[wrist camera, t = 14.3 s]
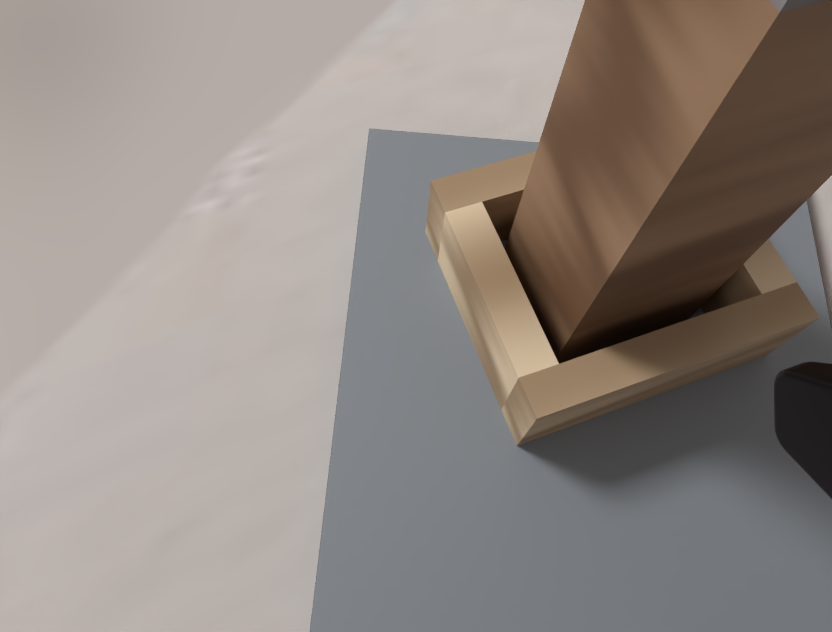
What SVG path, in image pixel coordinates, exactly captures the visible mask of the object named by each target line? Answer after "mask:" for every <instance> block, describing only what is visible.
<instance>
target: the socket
mask: <svg viewBox="0 0 832 632" xmlns="http://www.w3.org/2000/svg"><path fill="white" fill-rule="evenodd" d="M535 154H536V151H534V152H531V153H527V154H524V155H520V156H516V157H513V158H509V159H506V160H502V161H499V162H495V163H492V164H488V165H485V166H481V167H477V168H474V169H470V170H467V171H463V172H460V173H456V174H453V175H449V176H445V177H442V178H438V179H435V180H431V183H430V193H429V202H428V211H427V220H426V230H425V232H426V235H427V237H428V239H429V242H430V244H431V246H432V249H433V251H434V253H435V256H436V258H437V260H438V263H439V265H440V267H441V270H442V272H443V274H444V277H445V279H446V281H447V284H448V286H449V289H450V291H451V293H452V296H453V298H454V300H455V303H456V305H457V307H458V310H459V312H460V314H461V317H462V319H463V321H464V324H465V326H466V328H467V331H468V333H469V335H470V338H471V340H472V342H473V345H474V347H475V349H476V352H477V354H478V356H479V359H480V361H481V363H482V366H483V368H484V370H485V373H486V375H487V377H488V380H489V382H490V384H491V387H492V389H493V392H494V394H495V396H496V399H497V401H498V403H499V406H500V408H501V410H502V413H503V415H504V417H505V420H506V422H507V424H508V427H509V429H510V431H511V434H512V436H513V438H514V441H515V443H516V445H517V446H518V445H521V444H524V443H526V442H529V441H532V440H535V439H537V438H540V437H543V436H546V435H549V434H551V433H554V432H557V431H560V430H562V429H565V428H568V427H571V426H573V425H576V424H579V423H582V422H584V421H587V420H590V419H593V418H595V417H598V416H601V415H604V414H606V413H609V412H612V411H615V410H617V409H620V408H623V407H626V406H628V405H631V404H634V403H637V402H639V401H642V400H645V399H648V398H650V397H653V396H656V395H659V394H661V393H664V392H667V391H670V390H672V389H675V388H678V387H681V386H683V385H686V384H689V383H692V382H694V381H697V380H700V379H703V378H706V377H708V376H711V375H714V374H717V373H719V372H722V371H725V370H728V369H730V368H733V367H736V366H739V365H741V364H744V363H747V362H750V361H752V360H755V359H758V358H761V357H763V356H766V355H768V354H769V353H771V352H772V351H774V350H775V349H776V348H778V347H779V346H781V345H782V344H783V343H785V342H786V341H788V340H789V339H790V338H792V337H793V336H795V335H796V334H798V333H799V332H800V331H802V330H803V329H805V328H806V327H807V326H809V325H810V324H812V323H813V322H814V321H816V320H817V319H819V318H820V317H819V315H818V314H817V312H816V311H815V309H814V308H813V306H812V305H811V303H810V302H809V300H808V298H807V297H806V295H805V294H804V292H803V291H802V289H801V288H800V286H799V285H798V283H797V281H796V280H795V278H794V277H793V275H792V274H791V272H790V271H789V269H788V268H787V266H786V264H785V263H784V261H783V260H782V258H781V257H780V255H779V254H778V252H777V251H776V249H775V248H774V246H773V244H772V243H771V241H770V240H769V239H768V240H767V241H766V242H765V243H764V244H763V245H762V246H761V247H760V248H759V249H758V250H757V251H756V252H755V253H754V254H753V255H752V256H751V257H750V258H749V259H748V260H747V261H746V262H745V263H744V264H743V265H742V266H741V267H740V268H739V269H738V270H737V271H736V272H735V273H734V274H733V275H732V276H731V277H730V278H729V279H728V280H727V281H726V282H725V283H724V284H723V285H722V286H721V287H720V288H719V289H718V290H717V291H716V292H715V293H714V294H713V295H712V296H711V297H710V298H709V299H708V300H707V301H706V302H705V303H704V304H703V305H702V306H701V308H702V310H703V312H704V313H705V314H703V315H700V316H697V317H694V318H691V319H688V320H685V321H682V322H679V323H676V324H674V325H671V326H668V327H665V328H662V329H659V330H656V331H653V332H650V333H647V334H644V335H642V336H639V337H636V338H633V339H630V340H627V341H624V342H621V343H618V344H615V345H612V346H610V347H607V348H604V349H601V350H598V351H595V352H592V353H589V354H586V355H583V356H580V357H578V358H575V359H572V360H569V361H566V362H563V363H560V364H559V363H558V361H557V359H556V357H555V355H554V353H553V350H552V348H551V346H550V344H549V342H548V340H547V338H546V336H545V334H544V331H543V329H542V327H541V325H540V323H539V321H538V319H537V317H536V315H535V312H534V310H533V308H532V306H531V304H530V302H529V300H528V298H527V295H526V293H525V291H524V289H523V287H522V285H521V283H520V281H519V279H518V276H517V274H516V272H515V270H514V268H513V266H512V264H511V262H510V260H509V257H508V255H507V253H506V251H505V249H504V247H503V245H502V243H501V241H505V240H508V238H509V235H510V232H511V229H512V225H513V222H514V219H515V216H516V213H517V210H518V207H519V204H520V201H521V198H522V194H523V191H524V188H525V185H526V182H527V179H528V176H529V173H530V170H531V167H532V164H533V160H534V157H535Z"/></svg>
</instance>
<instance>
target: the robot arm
mask: <svg viewBox="0 0 832 632" xmlns="http://www.w3.org/2000/svg"><path fill="white" fill-rule="evenodd" d="M774 427H775V433H776V436H777V439H778V441H779V443H780V444H781V446H782V447H783V449H784V450H785V451H786V452H787V453H788V454H789V455H790V456H791V457H792V458H793V459H794V460H795V461H796V463H797V464H798V465H799V466H800V467H801V468H802V469H803V470H804V471H805V472H806V473H807V474H808V475H809V476H810V477H811V478H812V479H813V480H814V481H815V482H816V484H817V485H818V486H819V487H820V488H821V489H822V490H823V491H824V492H825V493H826V494H827V495H828V496H829V497H830V498H831V499H832V364H830V363H822V362H813V361H809V362H803V363H801V364H798V365H795V366H792V367H790V368H787V369H784V370H782V371H780V372H779V373H778V374H777V375H776V377H775V380H774Z"/></svg>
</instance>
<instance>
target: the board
mask: <svg viewBox="0 0 832 632" xmlns="http://www.w3.org/2000/svg"><path fill="white" fill-rule="evenodd" d="M538 145H539V143H538V142H525V141H513V140H501V139H489V138H477V137H465V136H453V135H441V134H429V133H416V132H404V131H392V130H380V129H369V135H368V143H367V152H366V160H365V169H364V177H363V186H362V194H361V203H360V211H359V219H358V228H357V236H356V245H355V253H354V262H353V270H352V279H351V287H350V295H349V304H348V312H347V321H346V329H345V338H344V346H343V355H342V363H341V372H340V380H339V388H338V397H337V405H336V414H335V422H334V431H333V439H332V448H331V456H330V465H329V473H328V481H327V490H326V498H325V507H324V515H323V524H322V532H321V541H320V549H319V558H318V566H317V574H316V583H315V591H314V600H313V608H312V617H311V625H310V632H832V499H831V498H830V497H829V496H828V495H827V494H826V493H825V492H824V491H823V490H822V489H821V488H820V487H819V486H818V485H817V484H816V482H815V481H814V480H813V479H812V478H811V477H810V476H809V475H808V474H807V473H806V472H805V471H804V470H803V469H802V468H801V467H800V466H799V465H798V464H797V463H796V461H795V460H794V459H793V458H792V457H791V456H790V455H789V454H788V453H787V452H786V451H785V450H784V449H783V447H782V446H781V444H780V443H779V441H778V439H777V436H776V433H775V427H774V380H775V377H776V375H777V374H778V373H779V372H780V371H782V370H784V369H787V368H790V367H792V366H795V365H798V364H801V363H803V362H809V361H813V362H822V363H830V364H832V328H831V323H830V318H829V313H828V308H827V302H826V297H825V292H824V287H823V282H822V277H821V272H820V267H819V261H818V256H817V251H816V246H815V241H814V236H813V231H812V226H811V220H810V215H809V210H808V205H807V200H806V201H805V202H804V203H803V204H802V205H801V206H800V207H799V208H798V209H797V210H796V211H795V212H794V213H793V214H792V216H791V217H790V218H789V219H788V220H787V221H786V222H785V223H784V224H783V225H782V226H781V227H780V228H779V229H778V230H777V231H776V232H775V233H774V234H773V235H772V236H771V237H770V238H769V240H770V241H771V243H772V244H773V246H774V248H775V249H776V251H777V252H778V254H779V255H780V257H781V258H782V260H783V261H784V263H785V264H786V266H787V268H788V269H789V271H790V272H791V274H792V275H793V277H794V278H795V280H796V281H797V283H798V285H799V286H800V288H801V289H802V291H803V292H804V294H805V295H806V297H807V298H808V300H809V302H810V303H811V305H812V306H813V308H814V309H815V311H816V312H817V314H818V315H819V317H820V318H819V319H817V320H816V321H814V322H813V323H812V324H810V325H809V326H807V327H806V328H805V329H803V330H802V331H800V332H799V333H798V334H796V335H795V336H793V337H792V338H790V339H789V340H788V341H786V342H785V343H783V344H782V345H781V346H779V347H778V348H776V349H775V350H774V351H772V352H771V353H769V354H768V355H766V356H763V357H761V358H758V359H755V360H752V361H750V362H747V363H744V364H741V365H739V366H736V367H733V368H730V369H728V370H725V371H722V372H719V373H717V374H714V375H711V376H708V377H706V378H703V379H700V380H697V381H694V382H692V383H689V384H686V385H683V386H681V387H678V388H675V389H672V390H670V391H667V392H664V393H661V394H659V395H656V396H653V397H650V398H648V399H645V400H642V401H639V402H637V403H634V404H631V405H628V406H626V407H623V408H620V409H617V410H615V411H612V412H609V413H606V414H604V415H601V416H598V417H595V418H593V419H590V420H587V421H584V422H582V423H579V424H576V425H573V426H571V427H568V428H565V429H562V430H560V431H557V432H554V433H551V434H549V435H546V436H543V437H540V438H537V439H535V440H532V441H529V442H526V443H524V444H521V445H518V446H517V445H516V443H515V441H514V438H513V436H512V434H511V431H510V429H509V427H508V424H507V422H506V420H505V417H504V415H503V413H502V410H501V408H500V406H499V403H498V401H497V399H496V396H495V394H494V392H493V389H492V387H491V384H490V382H489V380H488V377H487V375H486V373H485V370H484V368H483V366H482V363H481V361H480V359H479V356H478V354H477V352H476V349H475V347H474V345H473V342H472V340H471V338H470V335H469V333H468V331H467V328H466V326H465V324H464V321H463V319H462V317H461V314H460V312H459V310H458V307H457V305H456V303H455V300H454V298H453V296H452V293H451V291H450V289H449V286H448V284H447V281H446V279H445V277H444V274H443V272H442V270H441V267H440V265H439V263H438V260H437V258H436V256H435V253H434V251H433V249H432V246H431V244H430V242H429V239H428V237H427V235H426V232H425V230H426V220H427V211H428V202H429V193H430V183H431V180H435V179H438V178H442V177H445V176H449V175H453V174H456V173H460V172H463V171H467V170H470V169H474V168H477V167H481V166H485V165H488V164H492V163H495V162H499V161H502V160H506V159H509V158H513V157H516V156H520V155H524V154H527V153H531V152H534V151H537V148H538ZM507 241H508V240H505V241H501V243H502V245H503V247H504V249H505V247H506V244H507ZM703 314H705V313H704V312H703V310H702V308H701V307H700V308H699V309H698V310H697V311H696V312H695V313H694V314H693V315H692V316H691V317H690V318H689V319H691V318H694V317H697V316H700V315H703Z"/></svg>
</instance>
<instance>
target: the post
mask: <svg viewBox="0 0 832 632" xmlns="http://www.w3.org/2000/svg"><path fill="white" fill-rule="evenodd" d="M831 175H832V0H585V3H584V6H583V9H582V12H581V15H580V18H579V21H578V24H577V27H576V30H575V33H574V37H573V40H572V43H571V46H570V49H569V52H568V55H567V58H566V61H565V64H564V68H563V71H562V74H561V77H560V80H559V83H558V86H557V89H556V92H555V95H554V99H553V102H552V105H551V108H550V111H549V114H548V117H547V120H546V123H545V126H544V129H543V133H542V136H541V139H540V142H539V145H538V148H537V151H536V154H535V157H534V160H533V164H532V167H531V170H530V173H529V176H528V179H527V182H526V185H525V188H524V191H523V194H522V198H521V201H520V204H519V207H518V210H517V213H516V216H515V219H514V222H513V225H512V229H511V232H510V235H509V238H508V241H507V244H506V247H505V251H506V253H507V255H508V257H509V260H510V262H511V264H512V266H513V268H514V270H515V272H516V274H517V276H518V279H519V281H520V283H521V285H522V287H523V289H524V291H525V293H526V295H527V298H528V300H529V302H530V304H531V306H532V308H533V310H534V312H535V315H536V317H537V319H538V321H539V323H540V325H541V327H542V329H543V331H544V334H545V336H546V338H547V340H548V342H549V344H550V346H551V348H552V350H553V353H554V355H555V357H556V359H557V361H558V363H559V364H560V363H563V362H566V361H569V360H572V359H575V358H578V357H580V356H583V355H586V354H589V353H592V352H595V351H598V350H601V349H604V348H607V347H610V346H612V345H615V344H618V343H621V342H624V341H627V340H630V339H633V338H636V337H639V336H642V335H644V334H647V333H650V332H653V331H656V330H659V329H662V328H665V327H668V326H671V325H674V324H676V323H679V322H682V321H685V320H688V319H689V318H690V317H691V316H692V315H693V314H694V313H695V312H696V311H697V310H698V309H699V308H700V307H701V306H702V305H703V304H704V303H705V302H706V301H707V300H708V299H709V298H710V297H711V296H712V295H713V294H714V293H715V292H716V291H717V290H718V289H719V288H720V287H721V286H722V285H723V284H724V283H725V282H726V281H727V280H728V279H729V278H730V277H731V276H732V275H733V274H734V273H735V272H736V271H737V270H738V269H739V268H740V267H741V266H742V265H743V264H744V263H745V262H746V261H747V260H748V259H749V258H750V257H751V256H752V255H753V254H754V253H755V252H756V251H757V250H758V249H759V248H760V247H761V246H762V245H763V244H764V243H765V242H766V241H767V240H768V239H769V238H770V237H771V236H772V235H773V234H774V233H775V232H776V231H777V230H778V229H779V228H780V227H781V226H782V225H783V224H784V223H785V222H786V221H787V220H788V219H789V218H790V217H791V216H792V214H793V213H794V212H795V211H796V210H797V209H798V208H799V207H800V206H801V205H802V204H803V203H804V202H805V201H806V200H807V199H808V198H809V197H810V196H811V195H812V194H813V193H814V192H815V191H816V190H817V189H818V188H819V187H820V186H821V185H822V184H823V183H824V182H825V181H826V180H827V179H828V178H829V177H830V176H831Z"/></svg>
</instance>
